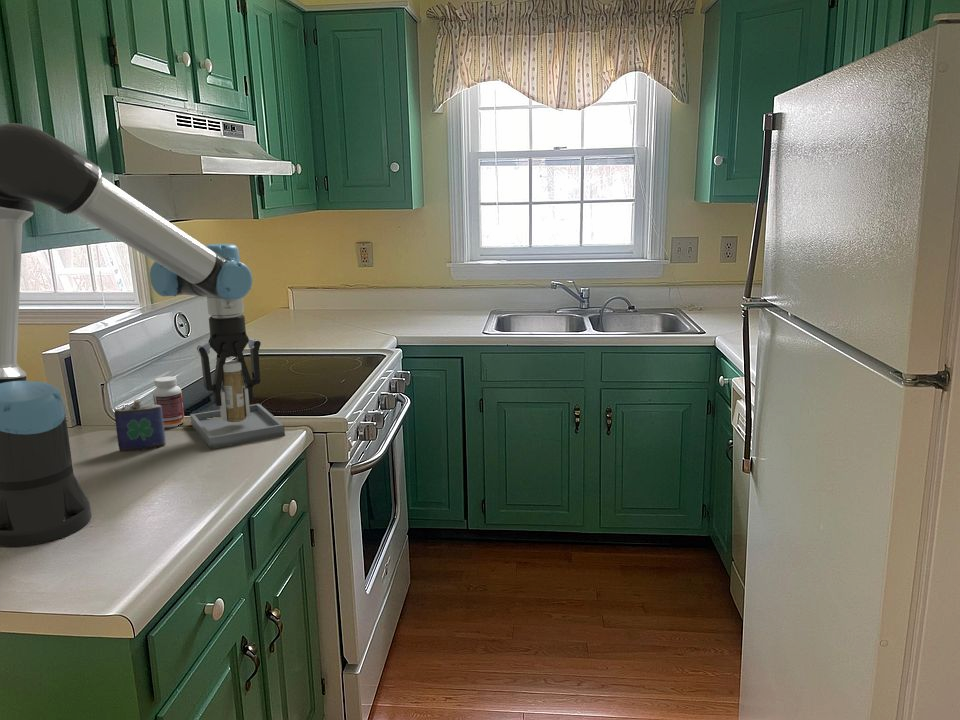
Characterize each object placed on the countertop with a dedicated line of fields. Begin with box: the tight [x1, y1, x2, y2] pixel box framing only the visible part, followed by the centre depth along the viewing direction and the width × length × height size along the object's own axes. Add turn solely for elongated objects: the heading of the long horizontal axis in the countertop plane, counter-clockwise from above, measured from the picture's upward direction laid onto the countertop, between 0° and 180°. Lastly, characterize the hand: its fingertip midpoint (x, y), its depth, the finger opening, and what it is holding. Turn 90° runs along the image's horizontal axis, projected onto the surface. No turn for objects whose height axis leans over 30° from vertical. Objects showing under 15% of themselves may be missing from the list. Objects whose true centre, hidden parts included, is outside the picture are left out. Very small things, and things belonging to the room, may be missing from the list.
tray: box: [189, 403, 286, 450], centre depth 172 cm, size 16×20×2 cm
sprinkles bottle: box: [222, 359, 246, 422], centre depth 170 cm, size 5×5×13 cm
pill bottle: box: [152, 375, 185, 429], centre depth 176 cm, size 6×6×11 cm
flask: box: [114, 399, 167, 453], centre depth 160 cm, size 9×3×11 cm, turn 112°
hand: (235, 416), depth 171 cm, fingers closed on sprinkles bottle, 4 cm apart
